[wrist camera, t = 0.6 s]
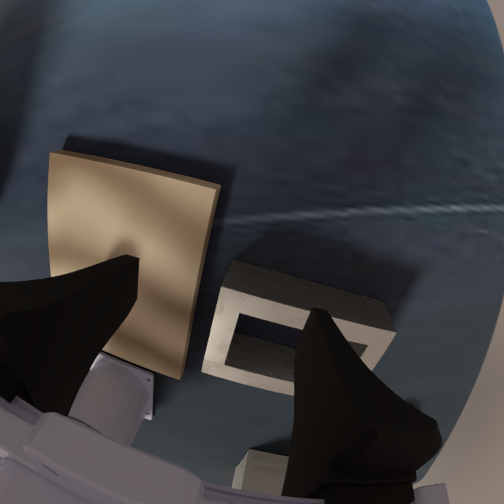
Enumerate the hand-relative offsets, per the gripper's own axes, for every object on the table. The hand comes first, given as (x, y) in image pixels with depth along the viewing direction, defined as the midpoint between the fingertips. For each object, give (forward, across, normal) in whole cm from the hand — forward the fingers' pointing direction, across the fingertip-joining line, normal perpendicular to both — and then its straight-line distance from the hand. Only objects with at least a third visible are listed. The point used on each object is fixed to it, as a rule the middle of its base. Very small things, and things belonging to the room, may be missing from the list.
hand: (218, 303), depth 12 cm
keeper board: (+10, +10, +7) cm, 15 cm away
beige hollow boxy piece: (+10, -5, +7) cm, 13 cm away
